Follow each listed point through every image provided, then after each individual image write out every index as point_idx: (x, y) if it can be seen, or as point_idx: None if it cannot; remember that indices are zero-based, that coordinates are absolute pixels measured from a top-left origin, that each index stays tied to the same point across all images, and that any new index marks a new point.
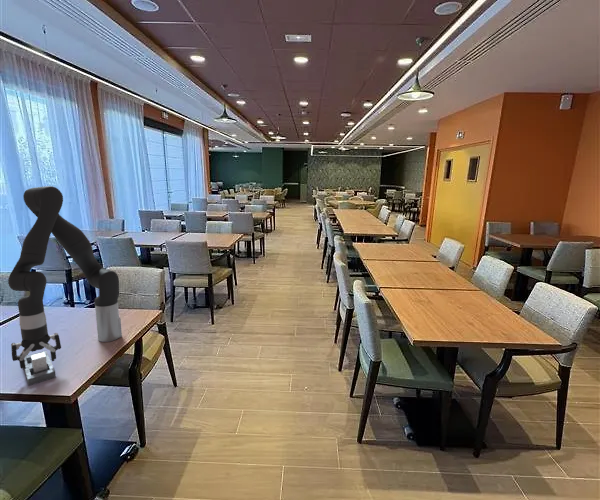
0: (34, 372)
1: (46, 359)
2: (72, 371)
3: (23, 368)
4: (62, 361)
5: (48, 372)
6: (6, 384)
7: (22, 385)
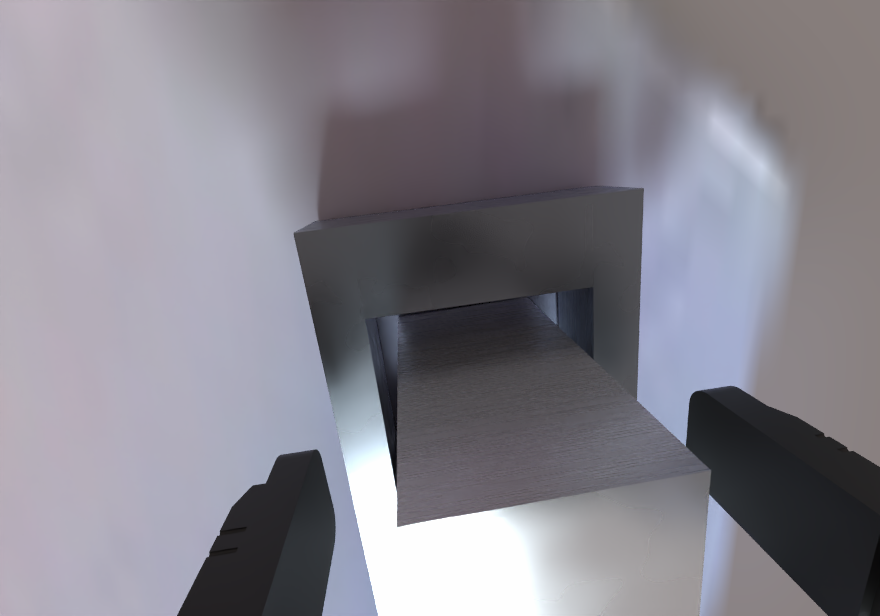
0: (557, 328)
1: (413, 610)
2: (130, 273)
3: (740, 391)
4: None
5: (385, 241)
6: (751, 354)
7: None
